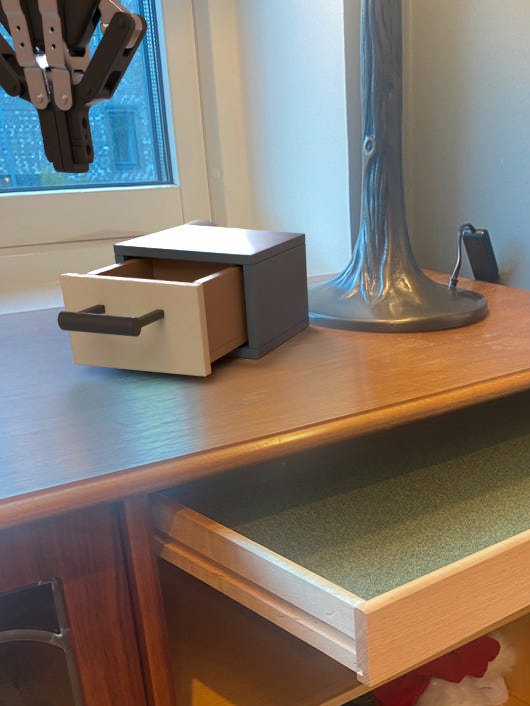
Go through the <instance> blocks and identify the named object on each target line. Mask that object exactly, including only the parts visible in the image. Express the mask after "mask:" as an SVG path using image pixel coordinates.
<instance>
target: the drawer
mask: <svg viewBox="0 0 530 706" xmlns="http://www.w3.org/2000/svg"><path fill="white" fill-rule="evenodd" d="M59 280H60V286H61V292H62V293H61V294H62V300H63V304H64V310H61V311H59V313H58V315H57V324H58V327H59V329H60V330H62V331H66V332H68V334H69V339H70V341H69V342H70V347H71V353H72V358H73V365H75V366H84V367H85V366H86V367H95V368H97V367H98V368H107V369H108V368H109V369H119V370H130V371H132V370H133V371H141V372H149V373H150V372H151V373H162V374H172V375H183V376H184V375H185V376H192V377H193V376H195V377H207V376H209V375H210V374H212V367H211V366H212V365H211V364H212V363H214V362H216V361H217V360H219V359H220V358H222V357H224V356H223V355H225V354H227V353H228V352H230V351H232V350H233V349H235V348H237V347H238V346H240V345H242V344H243V343H245V342H247V341H248V327H247V314H246V300H245V287H244V274H243V265H240V264H227V263H214V262H201V261H188V260H176V259H163V258H150V257H137V258H134V259H131V260H127V261H124V262H121V263H118V264H116V263H115V264H112V265H109V266H106V267H103V268H99V269H95V270H93V271H90V272H86V273H85V274H84V273H74V272H73V273H72V272H67V273H63V274H60V275H59Z"/></svg>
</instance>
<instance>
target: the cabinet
mask: <svg viewBox="0 0 530 706" xmlns="http://www.w3.org/2000/svg"><path fill="white" fill-rule="evenodd" d="M112 246H113V253H114V262H115V264H118V263H121V262H124V261H127V260H131V259H134V258H137V257H150V258H163V259H176V260H188V261H201V262H214V263H227V264H240V265H243V274H244V287H245V300H246V314H247V327H248V341H247V342H245V343H243V344H242V345H240V346H238V347H237V348H235V349H233V350H232V351H230V352H228V353H227V354H225V355H223V356H222V357H229V358H239V359H251V360H259V359H261V358H263V357H264V356H265V355H267V354H268V353H270V352H272V351H273V350H274V349H276V348H278V347H279V346H280V345H282V344H283V343H285V342H286V341H288V340H289V339H291V338H294V336H296V335H297V334H299V333H300V332H301V331H303V330H305V329H306V328H308V327H310V312H309V311H310V310H309V292H308V291H309V290H308V288H309V287H308V267H307V266H308V265H307V245H306V233H305V232H304V233H303V232H302V233H301V232H289V231H274V230H264V229H263V230H262V229H250V228H249V229H247V228H236V227H235V228H234V227H220V226H219V227H208V226H194V225H185V224H183V225H179V226H175V227H171V228H169V229H165V230H161V231H157V232H154V233H150V234H146V235H144V236H143V235H142V236H139V237H136V238H132V239H128V240H125V241H122V242H118V243H114V244H113V245H112Z"/></svg>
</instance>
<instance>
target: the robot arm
mask: <svg viewBox="0 0 530 706" xmlns="http://www.w3.org/2000/svg"><path fill="white" fill-rule="evenodd" d="M98 25H99V30H100V33H101V35H102V37H101V38H100V41H99V42H98V45H97V47H96V49H95V51H94V52H93V55H92V57H91V50H90V49H91V47H90V42H91V41H92V39H93V36H94V34H95V32H96V30H97V28H98ZM1 27H3V28H4V29H5V31H6V32H7V33H8V35H9V36H10V38H11V40H12V45H13V47H12V46H11V44H10V43H9V42H8V41H7V39H6V38H5V37H4V35H3V34H2V33H1V32H0V87H1V88H2V89H3V91H4V92H5V93H6V94H7V95H8V96H9V97H13V98H19V99H22V100H24V101H26V102H28V103H29V104H31V105H32V106H33V107H34V108H35V110H36V112H37V116H38V121H39V127H40V134H41V137H42V139H41V140H42V144H43V150H44V155H45V158H46V160H47V161H48V163H52V166H53V169H54V171H55V172H56V173H58V174H60V173H61V174H73V175H74V174H75V175H77V174H79V175H80V174H85V173H88V172H89V171H90V164H94V159H95V150H94V144H93V136H92V130H91V129H92V128H91V123H90V122H91V121H90V117H89V115H90V114H89V113H90V110H91V108H92V106H94V105H96V104H98V103H102V102H104V101H109V100H111V99H112V98H113V97H114V95H115V93H116V91H117V89H118V87H119V85H120V83H121V82H122V80H123V78H124V76H125V74H126V72H127V71H128V68H129V66H130V64H131V62H133V59H134V57H135V54H137V51H138V49H139V47H140V45H141V44H142V41H143V39H144V38H145V36H146V34H147V32H148V23H147V19H146V18H145V17H144V16H143V15H141V14H140V13H134V12H131V11H130V10H129V9H128V8H126V7H125V5H123V3H121V2H120V1H119V0H0V28H1Z"/></svg>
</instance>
